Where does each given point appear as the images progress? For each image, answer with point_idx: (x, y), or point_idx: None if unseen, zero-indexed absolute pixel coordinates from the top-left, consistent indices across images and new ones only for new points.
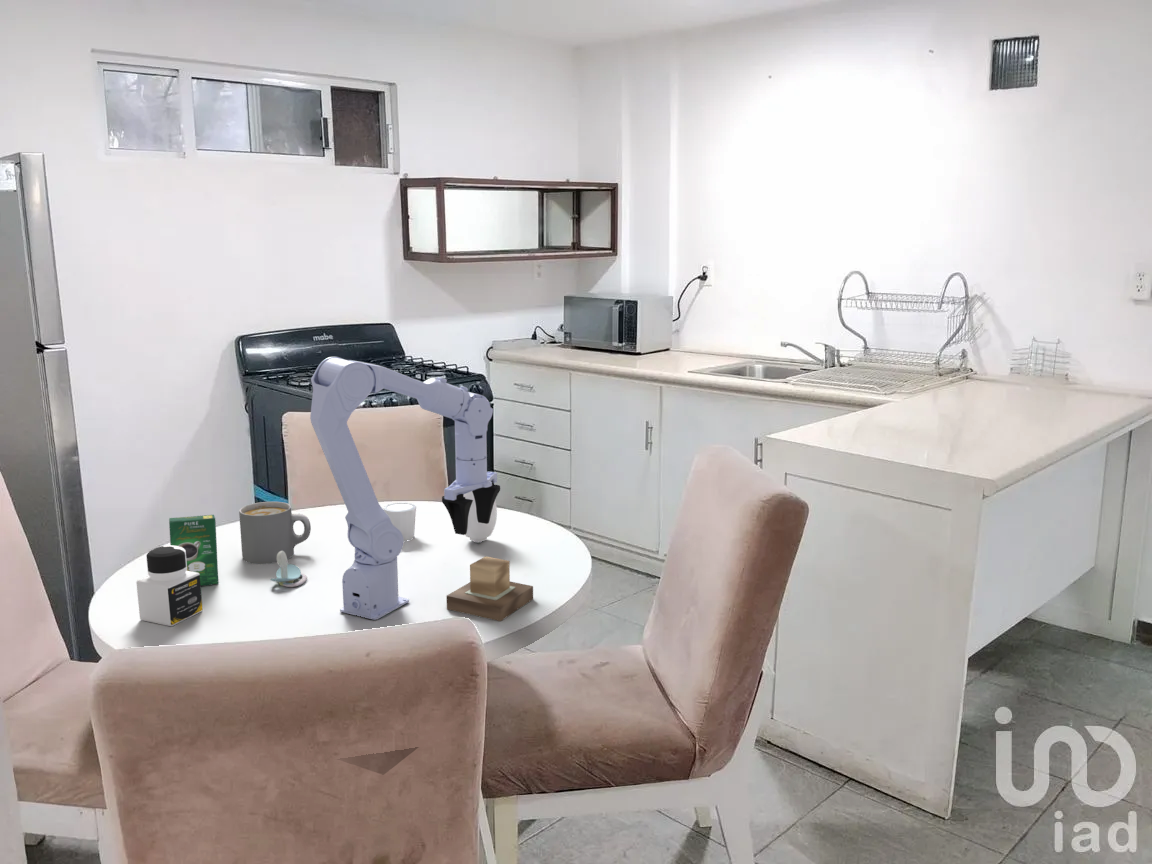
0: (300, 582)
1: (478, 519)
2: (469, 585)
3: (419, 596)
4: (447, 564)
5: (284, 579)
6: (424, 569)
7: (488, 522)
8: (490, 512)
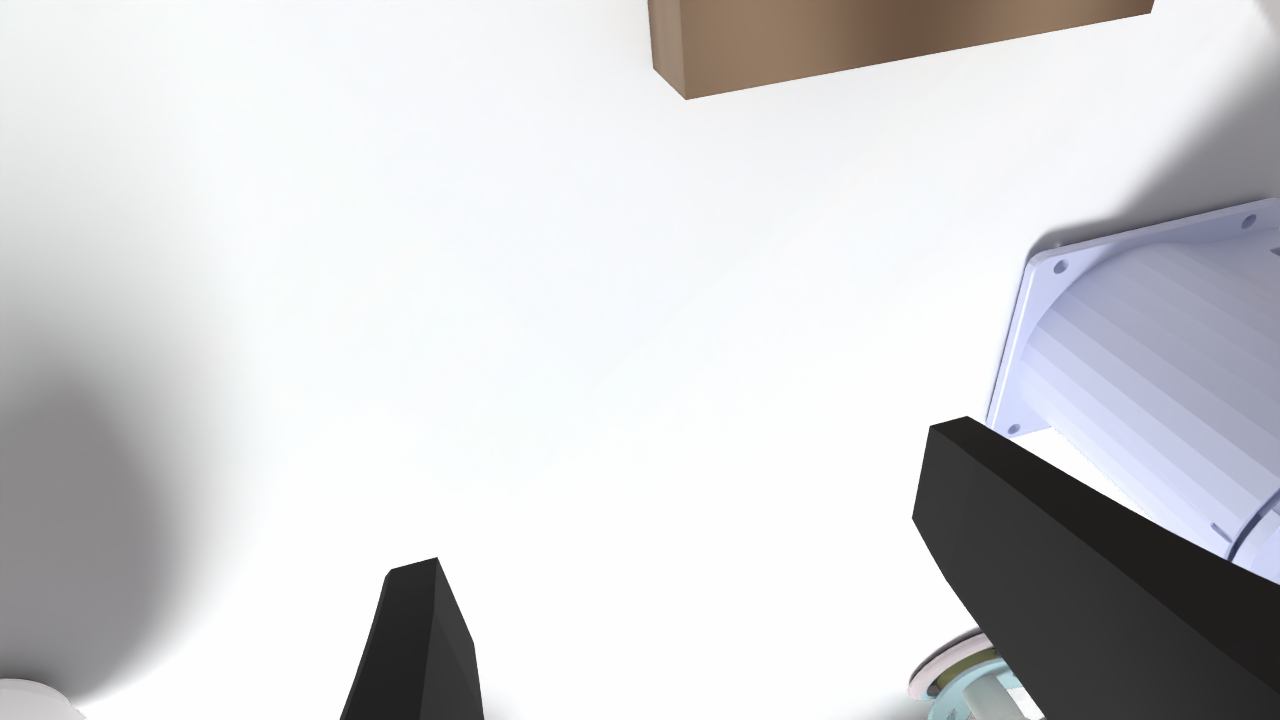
0: (987, 641)
1: (476, 676)
2: (919, 15)
3: (934, 277)
4: (461, 521)
5: None
6: (603, 531)
7: (402, 573)
8: (378, 710)
